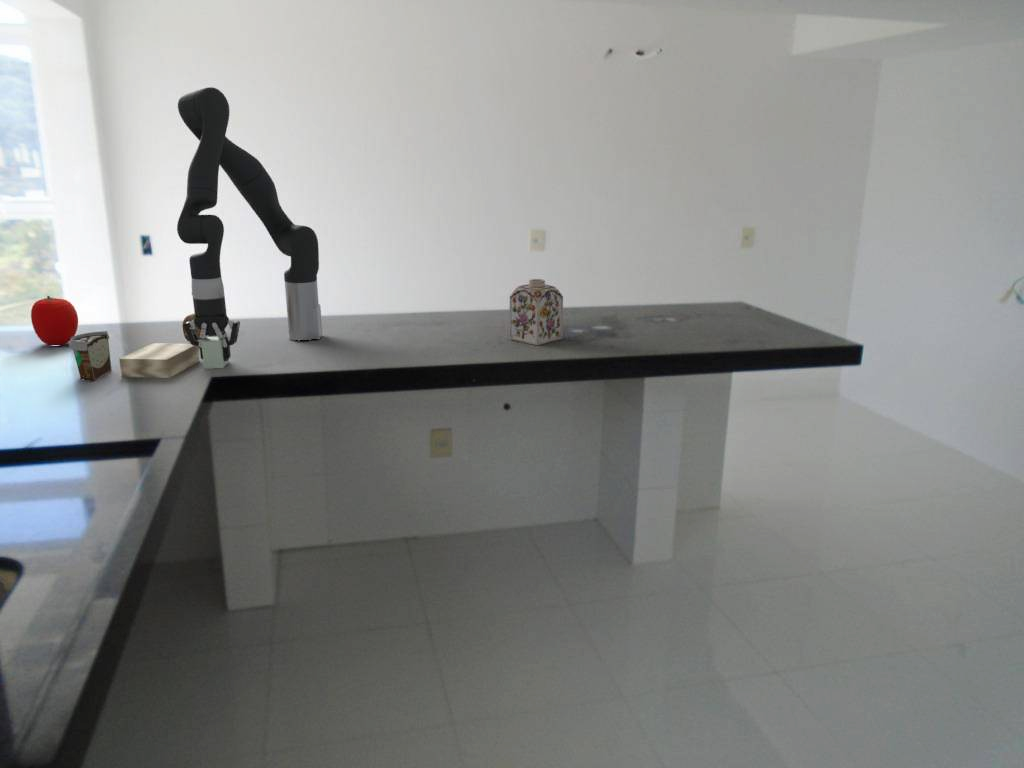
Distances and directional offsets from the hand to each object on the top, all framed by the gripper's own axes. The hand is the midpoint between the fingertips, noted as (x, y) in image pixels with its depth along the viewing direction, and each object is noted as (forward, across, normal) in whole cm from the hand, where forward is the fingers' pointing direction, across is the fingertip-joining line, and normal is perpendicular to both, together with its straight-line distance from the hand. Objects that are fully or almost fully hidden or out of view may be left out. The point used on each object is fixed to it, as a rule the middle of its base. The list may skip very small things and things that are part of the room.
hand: (216, 360), depth 191 cm
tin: (+2, +13, -30) cm, 33 cm away
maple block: (+2, +13, +2) cm, 13 cm away
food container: (+2, +28, +8) cm, 29 cm away
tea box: (+1, 0, 0) cm, 1 cm away
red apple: (+2, +52, -26) cm, 58 cm away
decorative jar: (+2, -86, -24) cm, 89 cm away
